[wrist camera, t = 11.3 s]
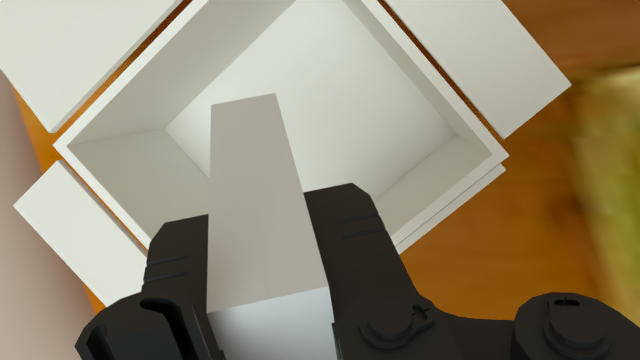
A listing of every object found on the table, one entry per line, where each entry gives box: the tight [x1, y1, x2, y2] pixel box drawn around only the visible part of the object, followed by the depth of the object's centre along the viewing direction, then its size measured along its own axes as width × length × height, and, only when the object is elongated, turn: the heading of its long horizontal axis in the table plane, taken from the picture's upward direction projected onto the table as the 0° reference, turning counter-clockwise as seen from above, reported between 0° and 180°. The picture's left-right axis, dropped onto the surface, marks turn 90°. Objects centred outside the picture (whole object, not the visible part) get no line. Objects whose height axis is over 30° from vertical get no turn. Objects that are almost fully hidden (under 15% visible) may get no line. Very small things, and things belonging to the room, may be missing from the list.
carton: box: [13, 0, 572, 307], centre depth 29 cm, size 24×15×12 cm, turn 132°
